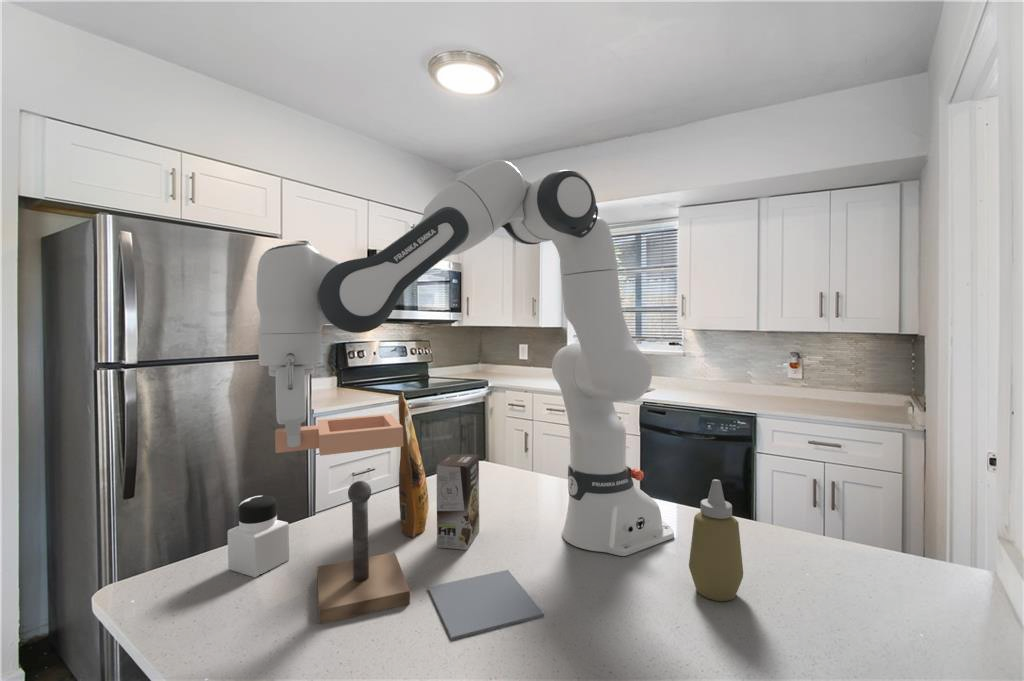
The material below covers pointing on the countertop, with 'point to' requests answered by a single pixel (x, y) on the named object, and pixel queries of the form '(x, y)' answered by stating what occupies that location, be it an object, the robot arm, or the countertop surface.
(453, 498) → the coffee box
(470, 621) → the mat
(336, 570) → the stand
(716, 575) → the squeeze bottle
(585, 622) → the countertop surface
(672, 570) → the countertop surface
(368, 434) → the frame
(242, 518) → the medicine bottle
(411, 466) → the pancake mix bag
